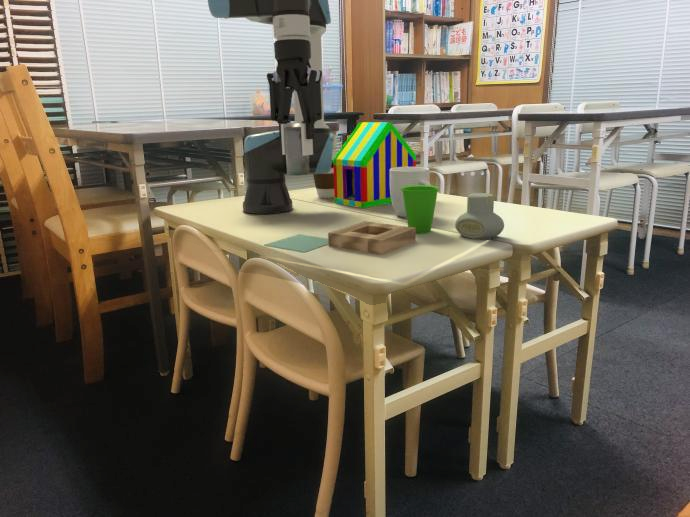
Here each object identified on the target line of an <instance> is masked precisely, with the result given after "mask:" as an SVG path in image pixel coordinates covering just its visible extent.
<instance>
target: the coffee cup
mask: <svg viewBox="0 0 690 517" xmlns="http://www.w3.org/2000/svg"><path fill="white" fill-rule="evenodd" d="M312 176H313V181H314V186H315V189H316V193H317V194H316V195H317V196H318V198H319V197H320V198H319V199H335V197H334V165H333V159H332V165H331V170H330V171H329V172H328V173H321V174H312Z"/></svg>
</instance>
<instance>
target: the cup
mask: <svg viewBox="0 0 690 517" xmlns="http://www.w3.org/2000/svg"><path fill="white" fill-rule="evenodd" d="M401 190H403V197H404V203H405V210H406V217H407V218H406V224H407V227H414V228H416V234H428V233H431V231H432V226H433V220H434V213H435V210H436V209H435V208H436V204H437V203H436V202H437V196H438V191H439V190H440V187H439V186H435V185H431V186H429V185H413V186H405V187H402V188H401Z"/></svg>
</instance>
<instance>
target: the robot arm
mask: <svg viewBox="0 0 690 517" xmlns="http://www.w3.org/2000/svg"><path fill="white" fill-rule="evenodd" d="M207 6H208V10H209V12H210V15H211V16H212V17H214V18H215V19H225V20H226V19H240V18H241V19H244V18H245V19H246V20H248V21H250V22H257V23H261V24H265V25H272V30H273V31H272V32H273V38H274V39H276V40H275V41H274V42H273V51H274V53H273V54H274V59H275V60H276V61H277V66H276V70H275V71H274V72H268V73H267V74H266V79H267V82H268V87H269V89H268V90H269V105H270V106H269V107H270V110H269V111H270V119H271V121H274V122H276V123H278V130H274V131H273V130H272V131H267V132H266V131H265V132H261V133H256V134H250V135H247V136H246V137H245V139H244V143H243V145H244V146H243V149H244V151H243V153H244V162H245V174H246V176H245V178H246V189H245V194H244V200H243V202H242V212H243V213H246V214H251V215H252V214H254V215H266V214H268V215H269V214H279V213H286V212H289V211H292V210H293V209H294V206H293V204H294V203H293V199H292V198H291V196H290V193H289V189H288V187H287V183H286V181H287V180H286V175H287V165H286V146H285V128H284V127H301V139H302V156H306V155H309V165H310V174H309V175H313V174H321V173H328V172H329V171H330V170H331V165H332V160H333V154H334V143H335V134H333V133H332V132H331V133H330V127H329V126H328V124H326V123H325V114H324V113H325V110H324V109H325V108H324V86H323V85H324V83H323V57H322V56H323V52H322V36H323V35H324V34H325V33H326V31H327V25H329V24H331V23H332V20H331V18H332V17H331V12H330V4H329V0H207ZM292 100H293V105H294V106H293V107H294V110H293V111H294V123H291V120H290V113H291V106H292ZM287 176H288V175H287Z"/></svg>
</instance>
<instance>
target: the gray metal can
mask: <svg viewBox="0 0 690 517" xmlns="http://www.w3.org/2000/svg"><path fill="white" fill-rule="evenodd" d="M284 128H285V146H286V165H287V176H305V175H306V176H307V175H311V174H310V165H309V155H306V156H302V139H301V127H284Z"/></svg>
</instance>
